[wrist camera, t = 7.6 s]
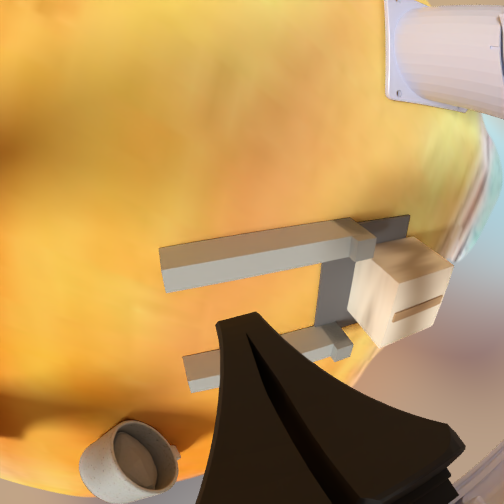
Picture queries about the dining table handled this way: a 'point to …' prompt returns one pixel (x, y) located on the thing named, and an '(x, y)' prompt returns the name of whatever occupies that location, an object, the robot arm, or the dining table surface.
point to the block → (398, 290)
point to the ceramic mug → (129, 463)
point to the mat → (350, 273)
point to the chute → (259, 263)
